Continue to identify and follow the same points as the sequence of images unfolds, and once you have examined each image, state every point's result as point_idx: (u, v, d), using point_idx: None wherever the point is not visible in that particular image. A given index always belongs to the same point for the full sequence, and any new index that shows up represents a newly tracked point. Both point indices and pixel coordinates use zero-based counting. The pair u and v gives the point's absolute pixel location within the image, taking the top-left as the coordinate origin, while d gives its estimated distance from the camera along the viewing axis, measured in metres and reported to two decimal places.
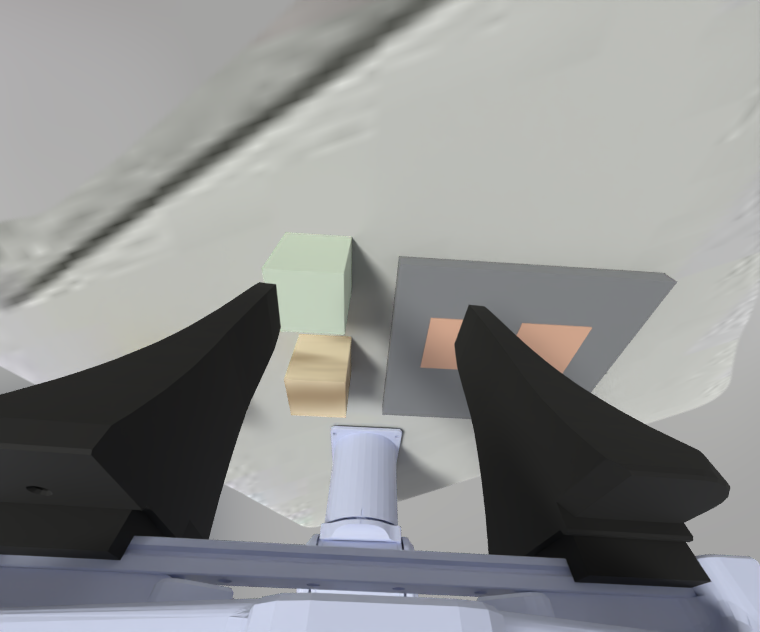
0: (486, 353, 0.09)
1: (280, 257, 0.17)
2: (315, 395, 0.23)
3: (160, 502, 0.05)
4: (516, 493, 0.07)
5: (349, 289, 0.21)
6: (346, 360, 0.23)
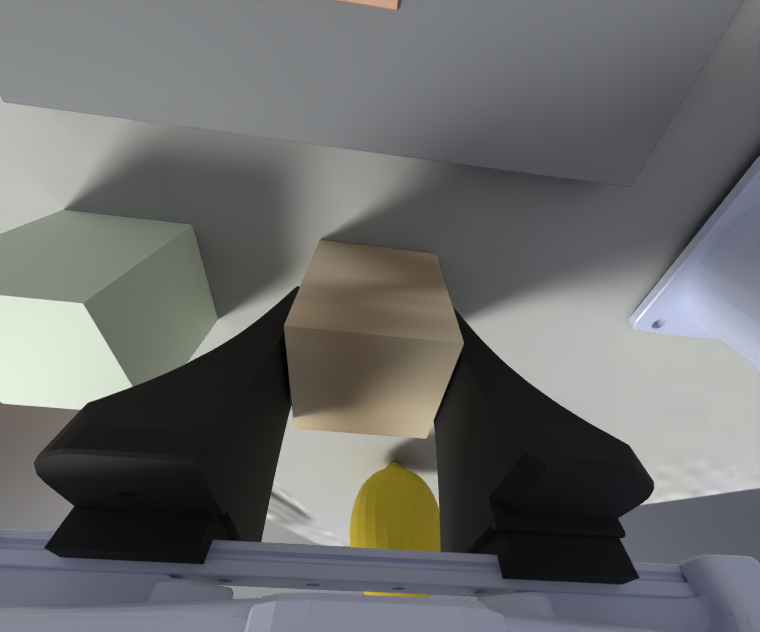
0: None
1: None
2: (349, 392, 0.09)
3: (234, 506, 0.06)
4: (461, 489, 0.07)
5: (125, 238, 0.09)
6: None
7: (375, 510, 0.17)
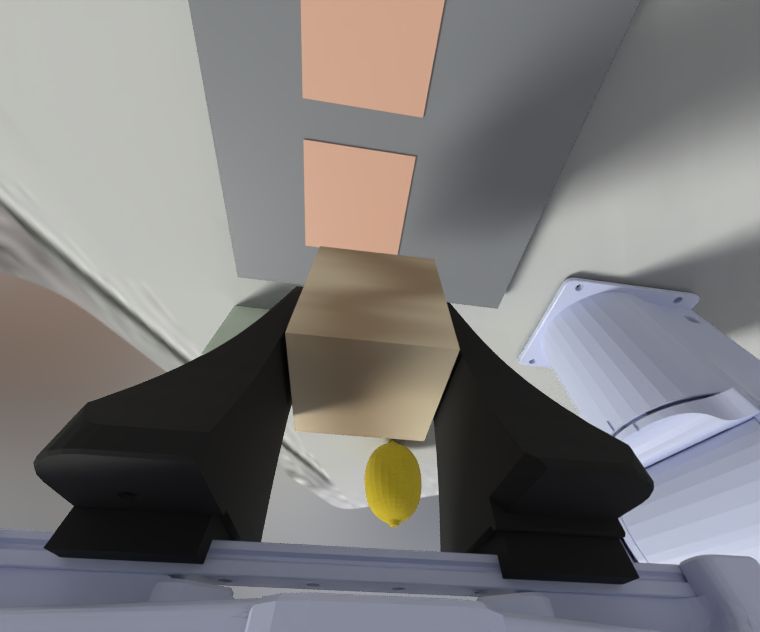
0: None
1: None
2: (348, 396, 0.09)
3: (233, 506, 0.06)
4: (462, 489, 0.07)
5: None
6: None
7: (380, 465, 0.28)
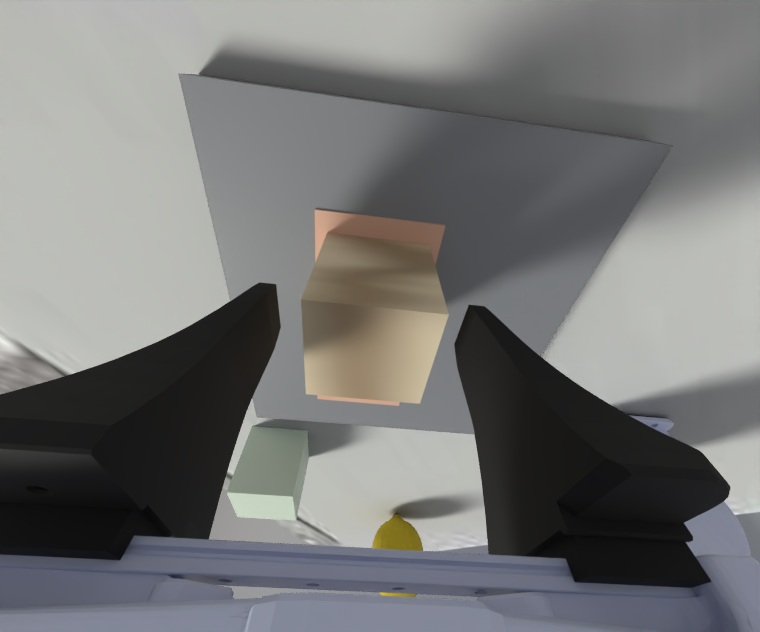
0: (486, 353, 0.09)
1: None
2: (353, 359, 0.10)
3: (160, 502, 0.05)
4: (516, 493, 0.07)
5: (287, 448, 0.23)
6: None
7: (386, 548, 0.30)
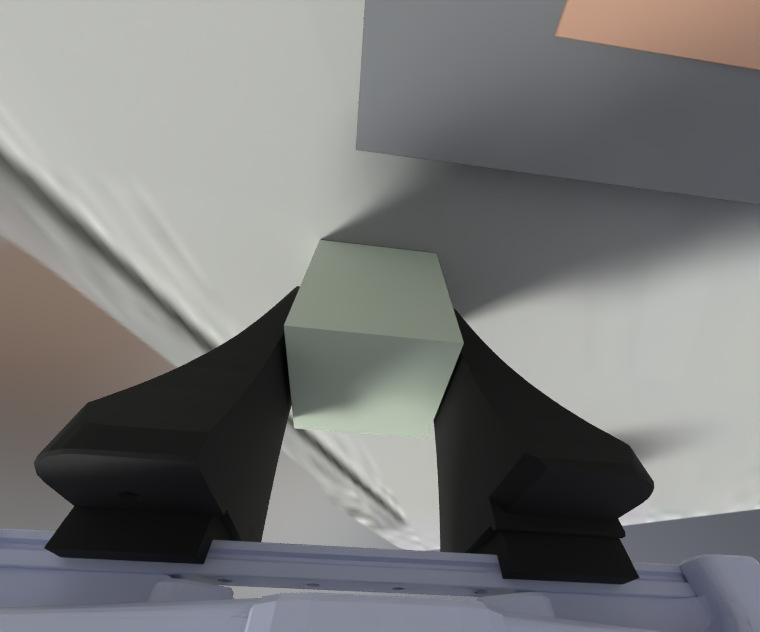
0: None
1: None
2: None
3: (234, 506, 0.06)
4: (461, 489, 0.07)
5: (406, 271, 0.10)
6: None
7: None
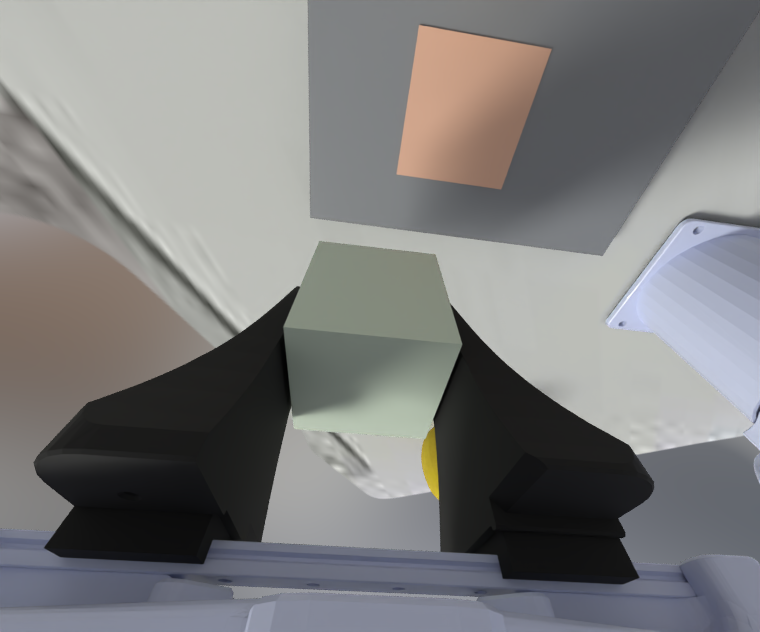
0: None
1: None
2: None
3: (234, 506, 0.06)
4: (461, 489, 0.07)
5: (405, 272, 0.10)
6: None
7: None
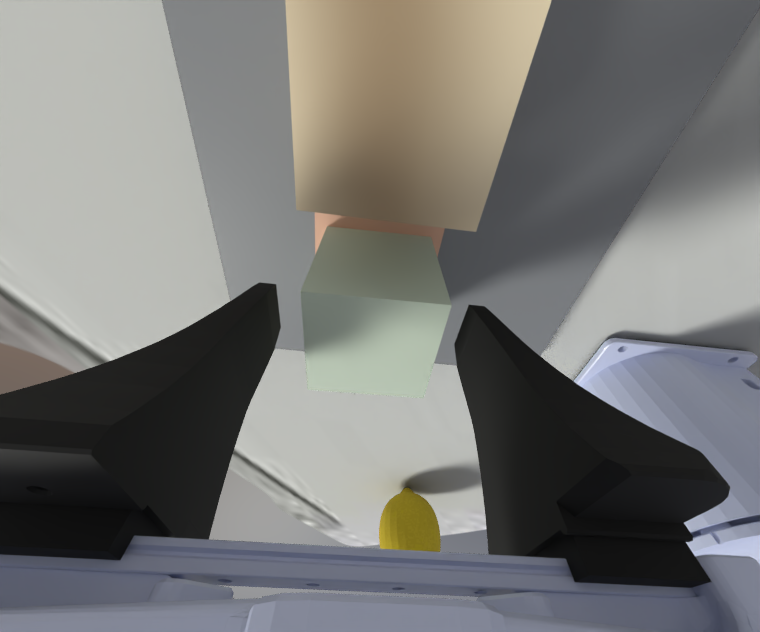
0: (486, 353, 0.09)
1: None
2: (376, 114, 0.06)
3: (160, 502, 0.05)
4: (516, 493, 0.07)
5: (404, 251, 0.11)
6: None
7: (397, 523, 0.26)
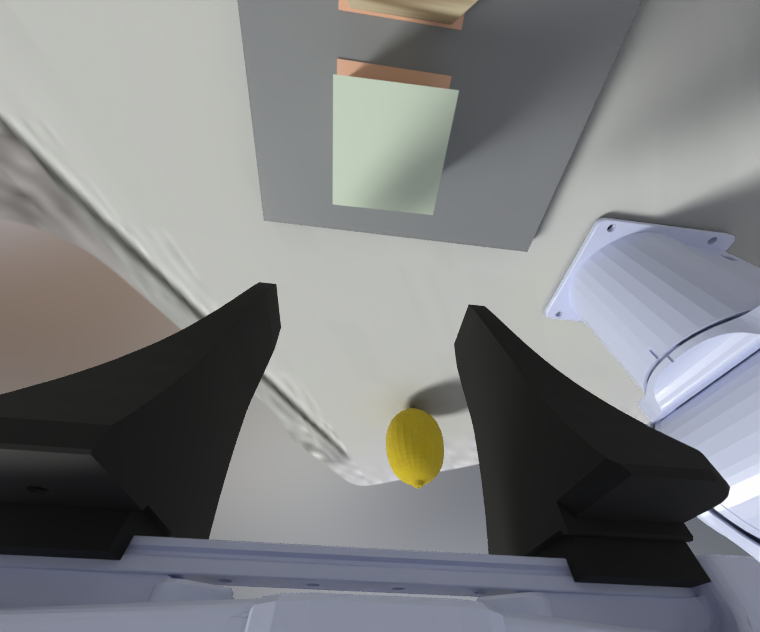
0: (486, 353, 0.09)
1: None
2: None
3: (160, 502, 0.05)
4: (516, 493, 0.07)
5: None
6: None
7: (403, 428, 0.28)
